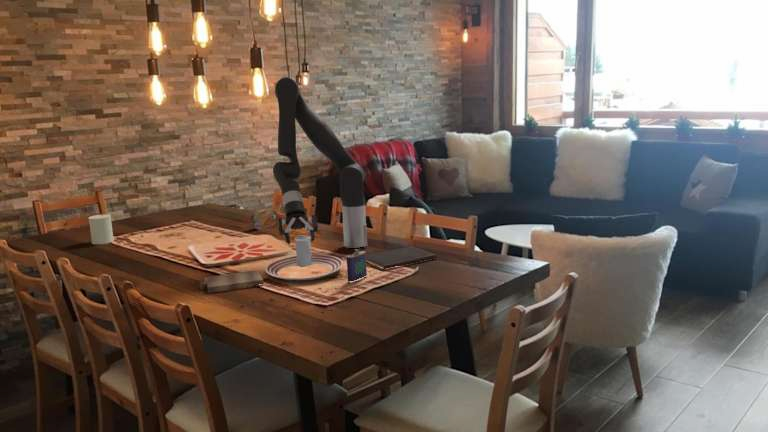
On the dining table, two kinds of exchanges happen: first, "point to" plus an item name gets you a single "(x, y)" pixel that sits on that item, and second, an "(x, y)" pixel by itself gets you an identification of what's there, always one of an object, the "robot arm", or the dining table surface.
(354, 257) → the flask
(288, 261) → the dinner plate
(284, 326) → the dining table surface
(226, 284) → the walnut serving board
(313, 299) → the dining table surface
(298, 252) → the stoneware cup
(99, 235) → the can
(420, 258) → the hardcover book
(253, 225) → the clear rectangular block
